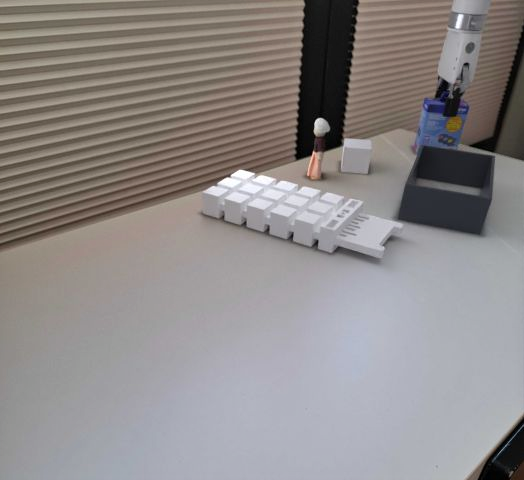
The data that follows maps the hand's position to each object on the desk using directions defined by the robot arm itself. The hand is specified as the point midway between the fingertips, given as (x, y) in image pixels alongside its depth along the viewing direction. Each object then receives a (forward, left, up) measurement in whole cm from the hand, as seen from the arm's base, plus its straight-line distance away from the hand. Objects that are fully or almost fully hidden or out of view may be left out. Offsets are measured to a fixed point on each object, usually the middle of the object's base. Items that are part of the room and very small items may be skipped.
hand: (444, 111), depth 120 cm
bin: (+9, +29, -10) cm, 32 cm away
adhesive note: (+23, +10, -10) cm, 27 cm away
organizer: (+40, +37, -10) cm, 55 cm away
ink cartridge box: (0, 0, -10) cm, 10 cm away
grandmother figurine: (+33, +15, -10) cm, 38 cm away
